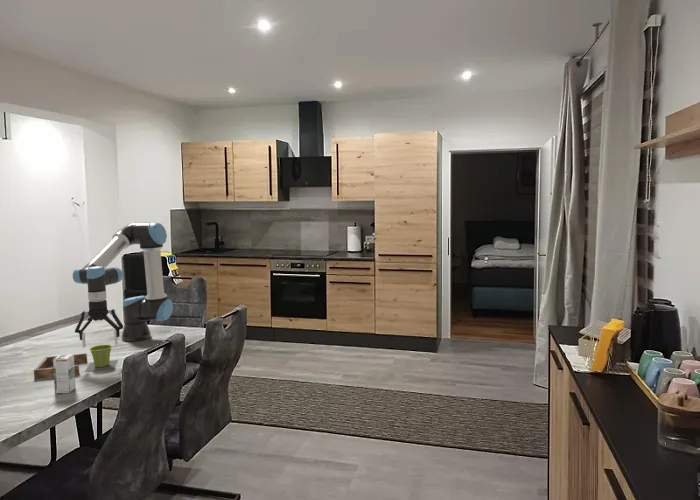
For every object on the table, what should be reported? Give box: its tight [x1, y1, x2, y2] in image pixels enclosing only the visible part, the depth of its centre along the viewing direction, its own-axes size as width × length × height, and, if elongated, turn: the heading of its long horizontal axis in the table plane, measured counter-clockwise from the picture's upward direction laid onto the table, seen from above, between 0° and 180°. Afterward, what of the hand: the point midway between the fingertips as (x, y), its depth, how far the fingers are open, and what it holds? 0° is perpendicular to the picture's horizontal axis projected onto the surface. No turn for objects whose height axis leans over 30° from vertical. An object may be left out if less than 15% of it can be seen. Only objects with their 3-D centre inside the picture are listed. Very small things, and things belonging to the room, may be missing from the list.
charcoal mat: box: [84, 359, 118, 373], centre depth 243 cm, size 12×14×1 cm
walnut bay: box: [33, 353, 88, 380], centre depth 238 cm, size 17×20×4 cm
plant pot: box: [89, 344, 112, 367], centre depth 243 cm, size 9×9×9 cm
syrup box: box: [52, 353, 76, 395], centre depth 210 cm, size 6×6×14 cm
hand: (100, 345), depth 242 cm, fingers open, 13 cm apart
